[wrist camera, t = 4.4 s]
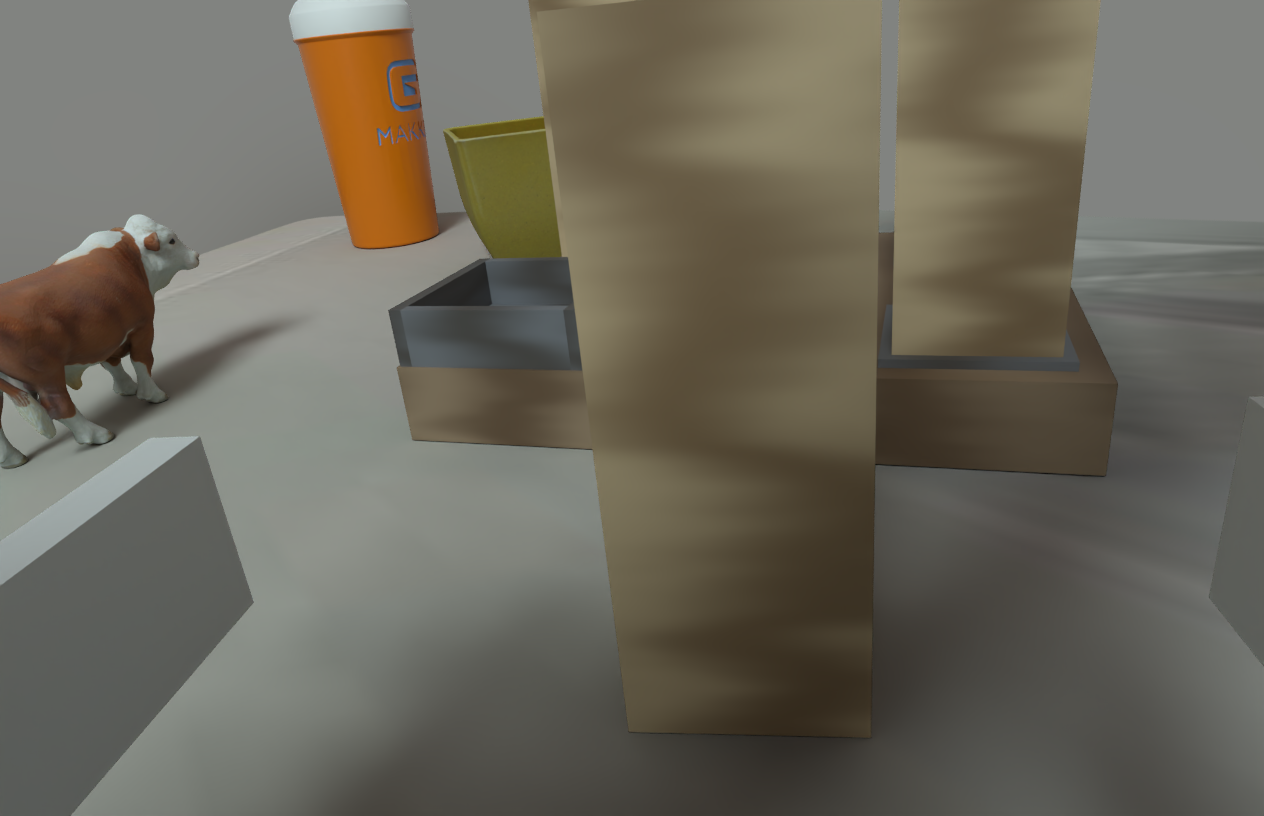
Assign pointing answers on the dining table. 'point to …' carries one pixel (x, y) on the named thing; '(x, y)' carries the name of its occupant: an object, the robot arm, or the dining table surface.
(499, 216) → the flower pot
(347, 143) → the shaker bottle
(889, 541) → the dining table surface
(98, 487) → the robot arm
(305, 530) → the dining table surface
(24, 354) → the bull figurine
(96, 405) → the dining table surface
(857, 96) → the stool leg
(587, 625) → the dining table surface
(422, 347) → the tan post-studded fixture
